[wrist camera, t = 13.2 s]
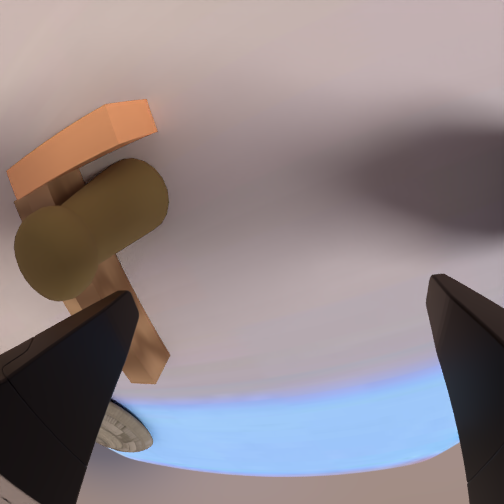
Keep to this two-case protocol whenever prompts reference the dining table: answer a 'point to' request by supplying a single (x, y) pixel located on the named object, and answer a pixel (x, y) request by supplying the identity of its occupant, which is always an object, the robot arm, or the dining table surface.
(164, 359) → the guide rail
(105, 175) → the cork
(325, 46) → the dining table surface
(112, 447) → the flying saucer
